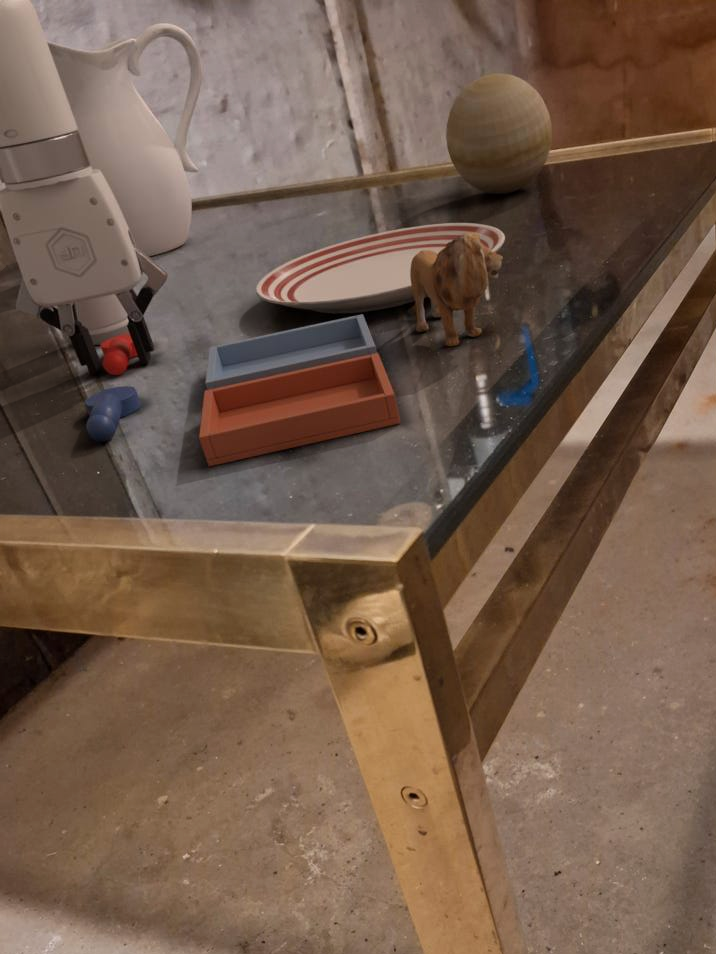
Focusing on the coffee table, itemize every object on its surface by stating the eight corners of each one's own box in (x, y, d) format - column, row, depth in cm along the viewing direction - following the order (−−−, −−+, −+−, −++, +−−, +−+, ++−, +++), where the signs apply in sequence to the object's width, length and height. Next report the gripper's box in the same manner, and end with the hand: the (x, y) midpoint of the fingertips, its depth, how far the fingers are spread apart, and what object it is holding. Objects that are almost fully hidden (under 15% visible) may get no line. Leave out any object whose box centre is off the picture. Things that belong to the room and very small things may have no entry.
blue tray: (213, 409, 77) (205, 382, 76) (217, 371, 86) (209, 346, 84) (381, 372, 78) (375, 345, 77) (368, 338, 87) (362, 313, 85)
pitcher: (99, 273, 132) (13, 44, 116) (90, 254, 145) (12, 47, 129) (259, 234, 138) (199, 11, 122) (236, 219, 151) (180, 17, 135)
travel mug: (66, 345, 101) (-17, 143, 90) (115, 325, 106) (40, 129, 94) (100, 349, 98) (17, 140, 87) (148, 328, 102) (76, 125, 91)
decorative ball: (564, 176, 139) (554, 60, 130) (547, 198, 127) (535, 72, 118) (468, 187, 143) (452, 75, 134) (444, 210, 131) (425, 89, 122)
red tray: (208, 466, 67) (198, 437, 66) (213, 417, 76) (204, 390, 74) (400, 423, 68) (394, 393, 67) (383, 379, 77) (378, 352, 75)
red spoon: (140, 373, 89) (132, 350, 88) (95, 383, 88) (85, 360, 87) (149, 343, 97) (142, 322, 96) (108, 351, 97) (100, 331, 96)
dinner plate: (257, 349, 89) (247, 314, 87) (266, 281, 112) (258, 253, 110) (531, 294, 91) (527, 258, 89) (486, 238, 113) (482, 209, 111)
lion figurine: (520, 336, 80) (506, 227, 75) (470, 355, 78) (453, 244, 73) (431, 311, 91) (413, 214, 86) (385, 327, 89) (364, 228, 84)
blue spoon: (131, 439, 74) (121, 413, 73) (77, 451, 74) (66, 425, 73) (143, 397, 83) (134, 373, 81) (94, 407, 82) (84, 384, 81)
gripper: (-66, 188, 77) (28, 396, 88) (135, 149, 79) (204, 358, 89) (-43, 176, 83) (43, 372, 94) (143, 140, 85) (206, 337, 95)
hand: (120, 363), depth 91 cm, fingers open, 4 cm apart
